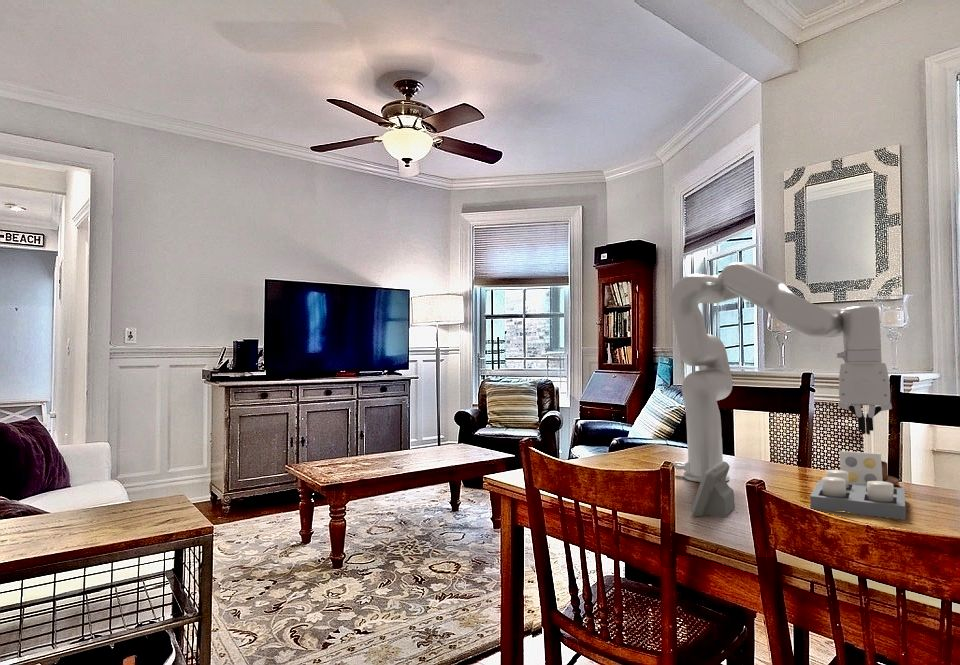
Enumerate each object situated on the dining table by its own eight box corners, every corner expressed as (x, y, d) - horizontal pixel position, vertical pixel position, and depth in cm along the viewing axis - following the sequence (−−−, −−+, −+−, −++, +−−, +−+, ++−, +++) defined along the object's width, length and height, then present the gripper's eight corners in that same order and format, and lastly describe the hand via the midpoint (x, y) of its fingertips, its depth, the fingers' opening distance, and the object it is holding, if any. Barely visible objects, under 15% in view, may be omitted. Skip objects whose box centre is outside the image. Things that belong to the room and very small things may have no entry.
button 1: (821, 495, 136) (820, 480, 136) (823, 490, 140) (822, 476, 140) (845, 497, 133) (844, 482, 133) (846, 493, 137) (846, 478, 137)
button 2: (825, 486, 143) (824, 472, 143) (827, 482, 147) (826, 469, 147) (848, 489, 140) (847, 474, 140) (849, 484, 144) (848, 470, 144)
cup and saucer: (908, 490, 148) (907, 466, 148) (857, 490, 151) (855, 466, 151) (885, 480, 160) (884, 457, 160) (838, 479, 162) (837, 457, 163)
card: (838, 490, 150) (836, 452, 150) (839, 488, 153) (837, 450, 153) (885, 495, 144) (883, 455, 144) (885, 492, 147) (883, 453, 147)
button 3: (867, 500, 130) (866, 484, 130) (868, 495, 134) (867, 480, 134) (893, 502, 127) (892, 486, 128) (893, 497, 131) (892, 482, 131)
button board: (810, 508, 135) (810, 496, 135) (819, 491, 150) (818, 480, 150) (905, 520, 124) (905, 506, 125) (905, 500, 139) (904, 488, 139)
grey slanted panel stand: (711, 500, 145) (709, 458, 146) (747, 507, 139) (745, 462, 139) (678, 514, 135) (676, 469, 135) (715, 522, 128) (713, 474, 128)
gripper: (825, 358, 140) (828, 433, 139) (901, 357, 131) (905, 438, 131) (827, 357, 146) (830, 429, 145) (900, 356, 137) (903, 433, 137)
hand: (865, 433), depth 138 cm, fingers closed
